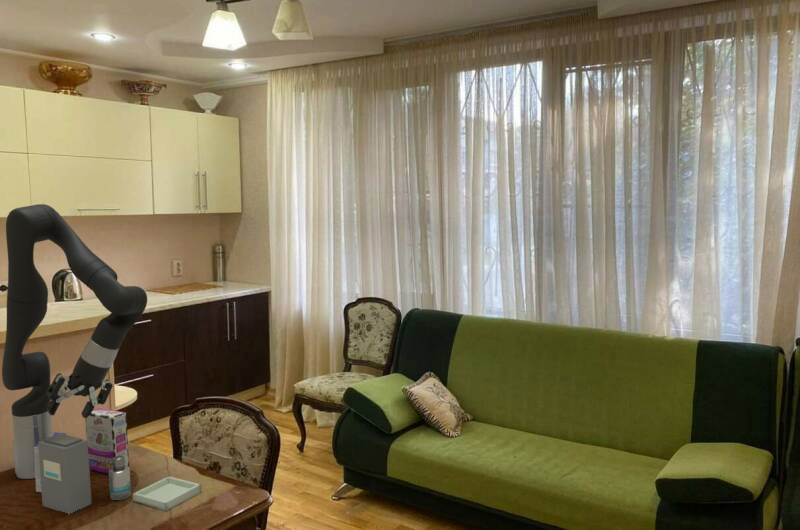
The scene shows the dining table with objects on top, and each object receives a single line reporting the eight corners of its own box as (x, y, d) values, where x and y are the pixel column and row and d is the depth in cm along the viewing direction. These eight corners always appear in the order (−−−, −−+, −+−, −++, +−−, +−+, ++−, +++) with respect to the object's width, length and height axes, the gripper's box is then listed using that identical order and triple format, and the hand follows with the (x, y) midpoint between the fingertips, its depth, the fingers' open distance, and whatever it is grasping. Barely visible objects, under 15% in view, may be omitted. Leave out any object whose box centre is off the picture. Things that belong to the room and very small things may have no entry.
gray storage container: (41, 506, 158) (36, 440, 156) (65, 496, 164) (60, 432, 162) (67, 515, 153) (63, 447, 152) (91, 503, 159) (87, 438, 157)
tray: (133, 501, 160) (132, 493, 160) (169, 483, 170) (168, 476, 170) (166, 511, 154) (165, 503, 154) (201, 491, 164) (201, 484, 164)
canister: (105, 498, 162) (103, 459, 161) (122, 490, 166) (120, 452, 165) (119, 502, 159) (116, 462, 159) (135, 494, 164) (133, 456, 163)
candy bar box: (130, 469, 179) (127, 412, 178) (115, 476, 175) (112, 417, 173) (102, 463, 184) (99, 407, 183) (87, 470, 180) (83, 412, 178)
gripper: (74, 362, 152) (43, 421, 153) (129, 370, 163) (100, 425, 164) (63, 346, 157) (33, 404, 158) (117, 355, 168) (89, 409, 169)
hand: (67, 415), depth 161 cm, fingers open, 8 cm apart
